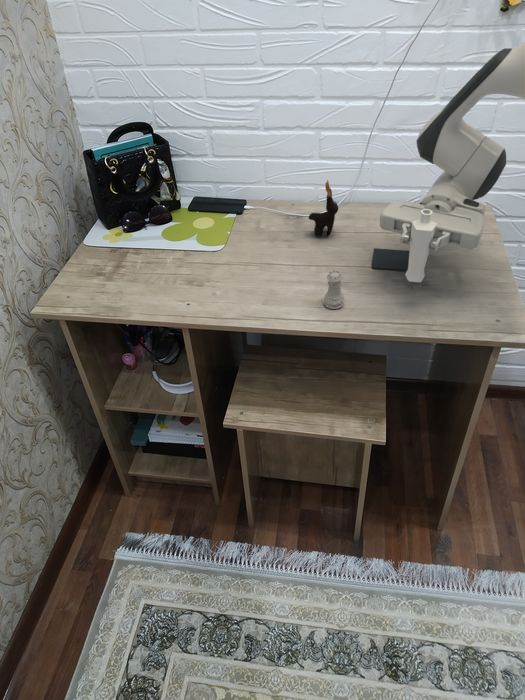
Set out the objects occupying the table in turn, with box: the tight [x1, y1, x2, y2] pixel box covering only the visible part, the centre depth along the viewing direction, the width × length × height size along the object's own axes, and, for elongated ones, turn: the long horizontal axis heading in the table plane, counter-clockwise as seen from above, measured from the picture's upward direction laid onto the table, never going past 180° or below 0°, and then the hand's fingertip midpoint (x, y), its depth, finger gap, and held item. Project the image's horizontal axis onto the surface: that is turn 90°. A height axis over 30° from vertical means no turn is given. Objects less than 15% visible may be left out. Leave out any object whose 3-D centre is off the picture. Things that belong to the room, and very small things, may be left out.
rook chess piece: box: [323, 269, 345, 310], centre depth 120 cm, size 4×4×8 cm
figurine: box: [308, 179, 339, 237], centre depth 139 cm, size 11×7×15 cm
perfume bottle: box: [404, 209, 437, 283], centre depth 111 cm, size 5×4×15 cm
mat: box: [370, 247, 410, 273], centre depth 133 cm, size 10×8×1 cm
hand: (418, 243), depth 110 cm, fingers closed on perfume bottle, 4 cm apart
